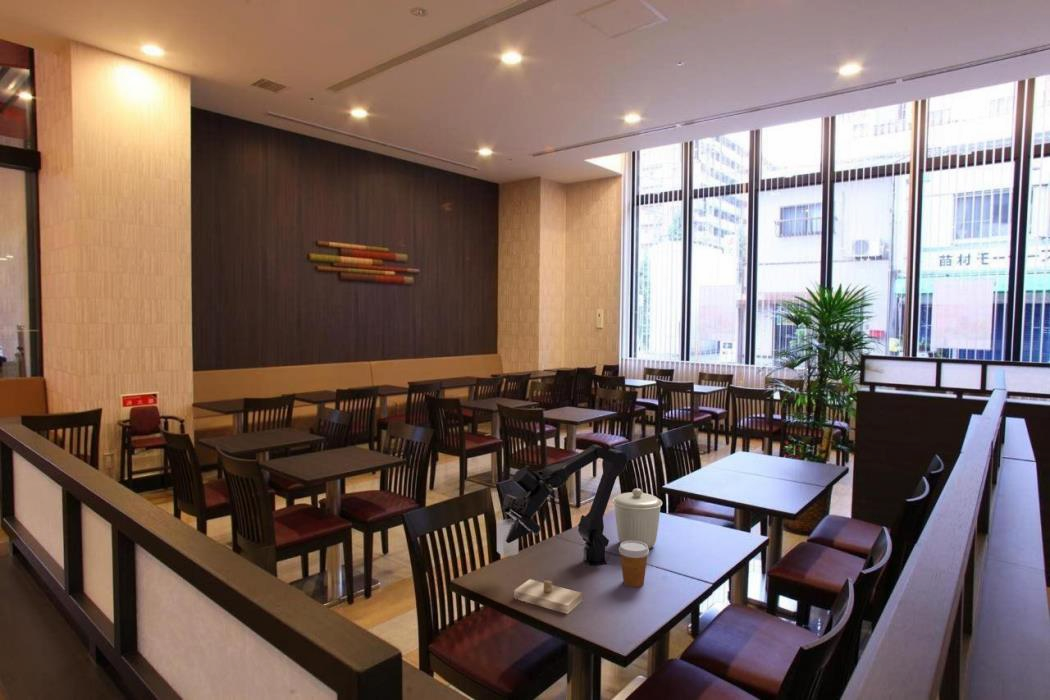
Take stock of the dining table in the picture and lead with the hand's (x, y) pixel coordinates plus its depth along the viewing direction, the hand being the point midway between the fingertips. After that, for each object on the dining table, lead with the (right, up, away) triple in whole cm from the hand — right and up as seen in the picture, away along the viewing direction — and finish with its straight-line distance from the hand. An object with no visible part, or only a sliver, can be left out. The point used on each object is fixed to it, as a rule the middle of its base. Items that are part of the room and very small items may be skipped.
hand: (503, 539), depth 190 cm
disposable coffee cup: (+41, -14, -1) cm, 43 cm away
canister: (+48, -12, +30) cm, 58 cm away
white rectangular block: (+1, -5, +1) cm, 5 cm away
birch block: (+14, -14, -12) cm, 23 cm away
